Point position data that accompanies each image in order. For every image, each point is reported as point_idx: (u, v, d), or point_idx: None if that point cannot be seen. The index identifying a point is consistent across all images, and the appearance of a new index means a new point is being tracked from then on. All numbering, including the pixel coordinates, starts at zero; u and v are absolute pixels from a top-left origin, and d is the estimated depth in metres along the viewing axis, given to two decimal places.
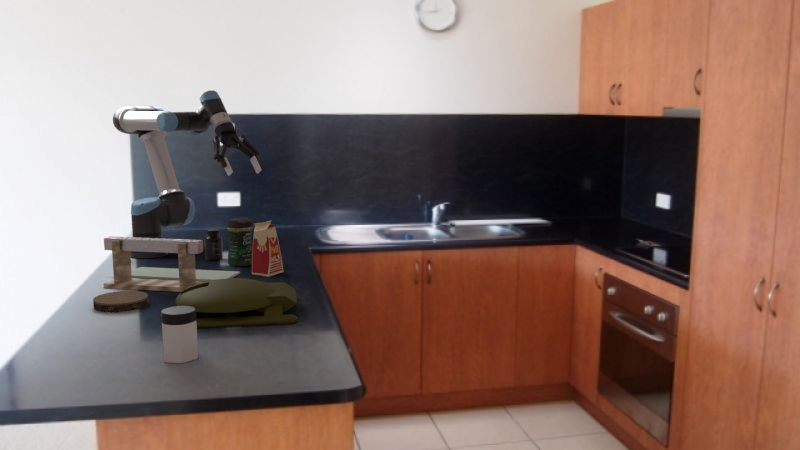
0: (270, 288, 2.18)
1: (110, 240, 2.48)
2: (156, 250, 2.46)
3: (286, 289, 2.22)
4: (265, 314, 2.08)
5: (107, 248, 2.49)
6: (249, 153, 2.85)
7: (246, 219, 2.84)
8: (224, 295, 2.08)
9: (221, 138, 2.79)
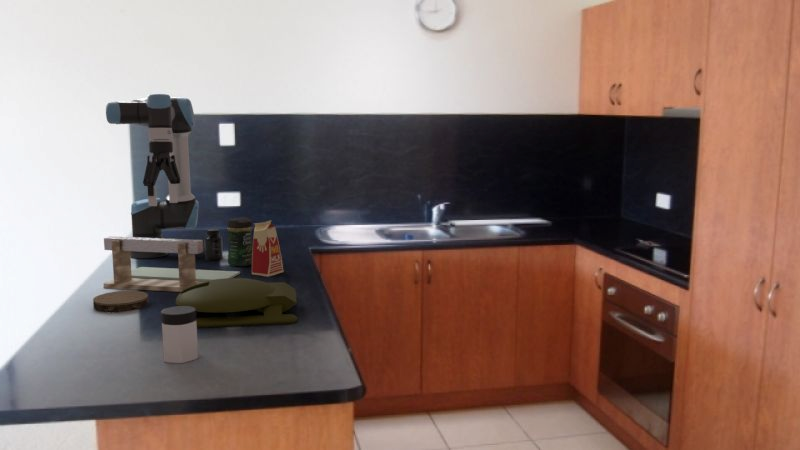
0: (270, 288, 2.18)
1: (110, 240, 2.48)
2: (156, 250, 2.46)
3: (286, 289, 2.22)
4: (265, 314, 2.08)
5: (107, 248, 2.49)
6: (172, 178, 2.53)
7: (246, 219, 2.84)
8: (224, 294, 2.08)
9: (157, 158, 2.42)
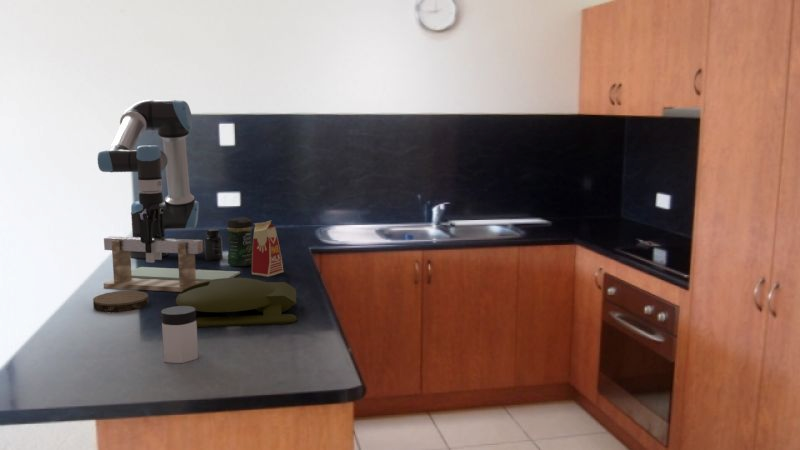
0: (270, 288, 2.19)
1: (110, 240, 2.48)
2: (156, 250, 2.46)
3: (286, 289, 2.22)
4: (264, 314, 2.09)
5: (107, 248, 2.49)
6: (157, 233, 2.49)
7: (246, 219, 2.84)
8: (224, 294, 2.08)
9: (147, 212, 2.42)
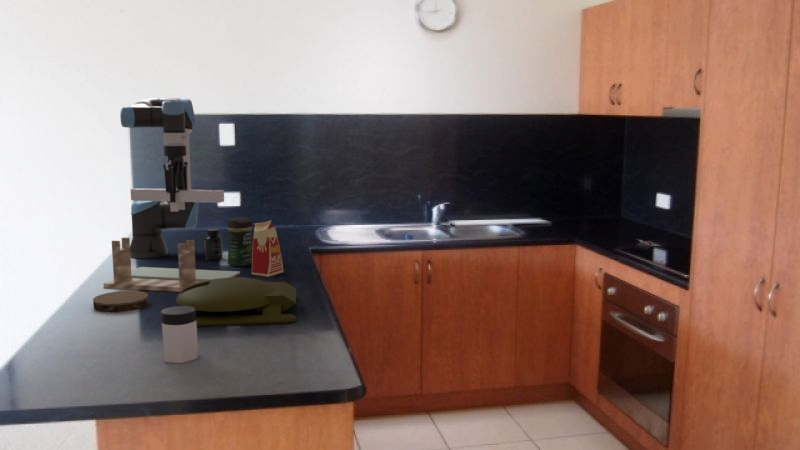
0: (270, 287, 2.19)
1: (136, 191, 2.63)
2: (180, 200, 2.61)
3: (286, 289, 2.22)
4: (263, 313, 2.09)
5: (134, 198, 2.64)
6: (180, 184, 2.65)
7: (246, 219, 2.84)
8: (223, 293, 2.09)
9: (172, 163, 2.57)
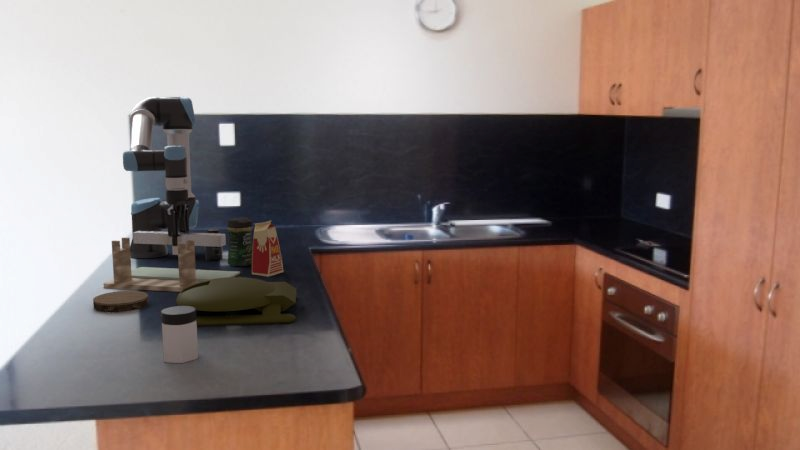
0: (270, 287, 2.19)
1: (139, 234, 2.66)
2: None
3: (286, 288, 2.22)
4: (263, 313, 2.09)
5: (136, 242, 2.67)
6: (182, 228, 2.67)
7: (246, 219, 2.84)
8: (223, 293, 2.09)
9: (174, 208, 2.60)
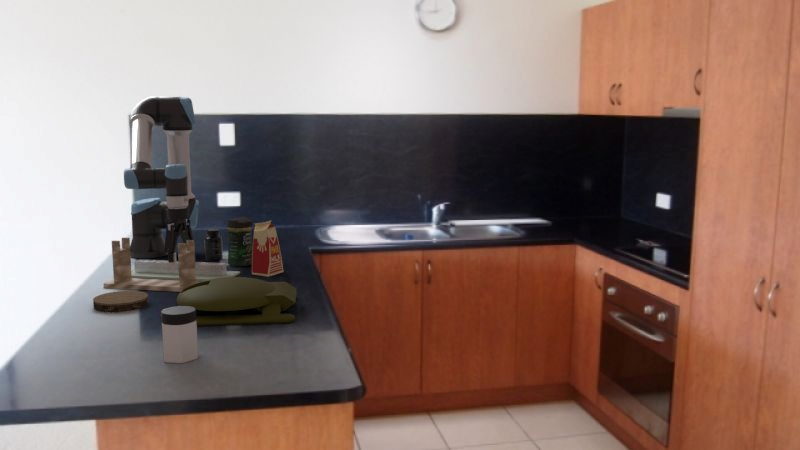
0: (270, 287, 2.19)
1: (140, 263, 2.68)
2: None
3: (286, 288, 2.22)
4: (263, 313, 2.09)
5: (138, 271, 2.68)
6: None
7: (246, 219, 2.84)
8: (223, 293, 2.09)
9: (174, 225, 2.61)
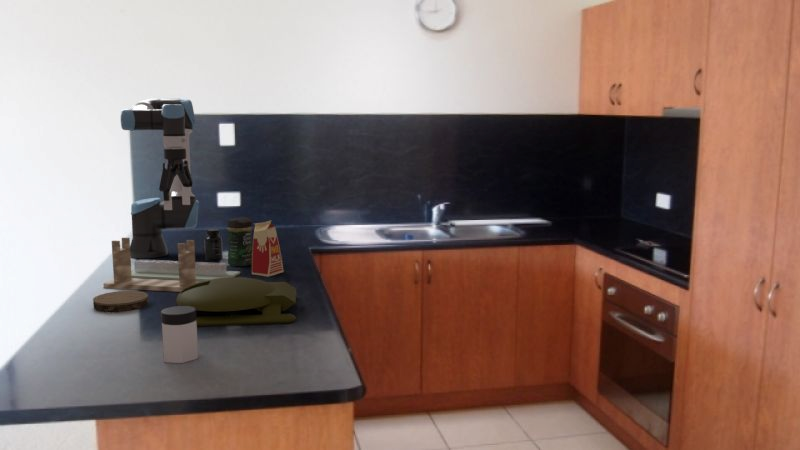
0: (270, 287, 2.19)
1: (140, 263, 2.68)
2: None
3: (286, 288, 2.22)
4: (263, 313, 2.09)
5: (138, 271, 2.68)
6: (185, 182, 2.69)
7: (246, 219, 2.84)
8: (223, 293, 2.09)
9: (171, 165, 2.58)
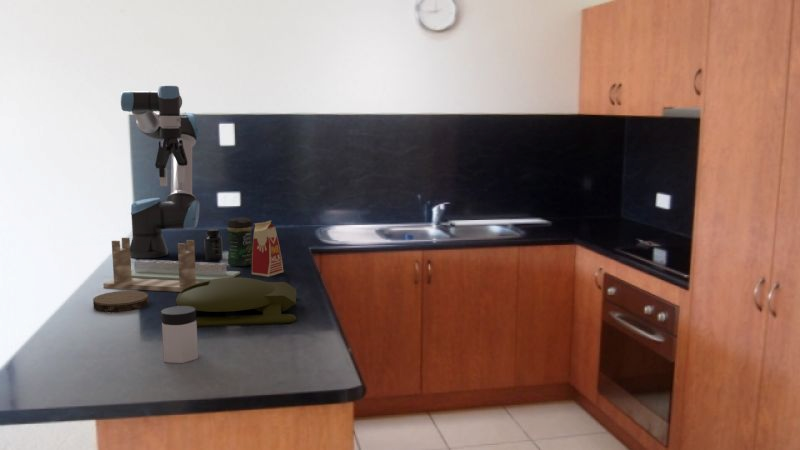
0: (270, 287, 2.19)
1: (140, 263, 2.68)
2: None
3: (286, 289, 2.22)
4: (263, 313, 2.09)
5: (138, 271, 2.68)
6: (180, 161, 2.82)
7: (246, 219, 2.84)
8: (223, 294, 2.09)
9: (167, 143, 2.71)
